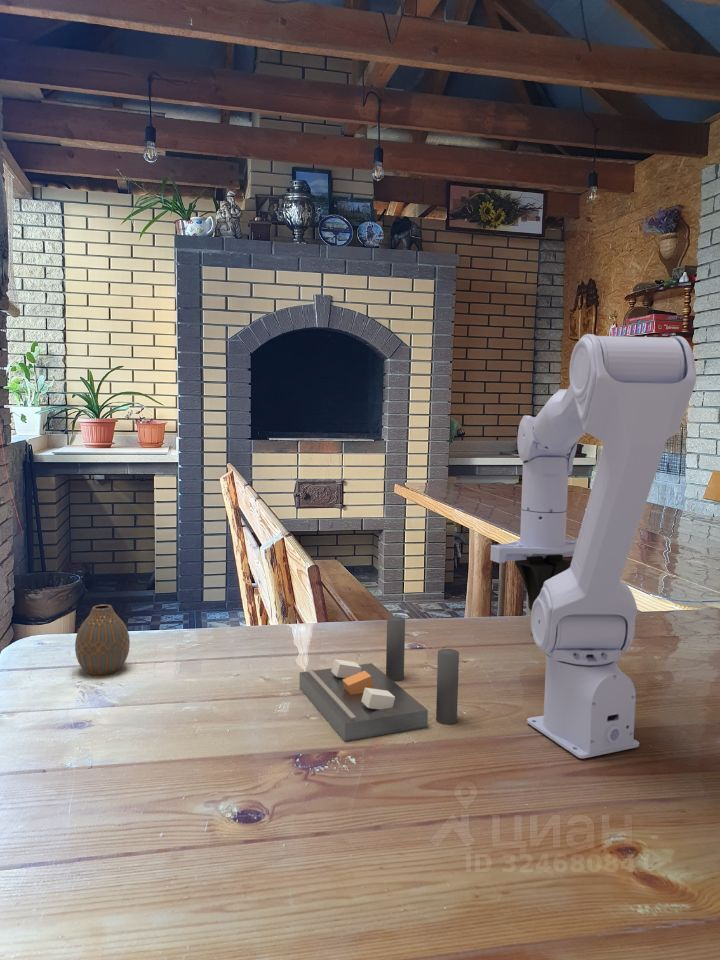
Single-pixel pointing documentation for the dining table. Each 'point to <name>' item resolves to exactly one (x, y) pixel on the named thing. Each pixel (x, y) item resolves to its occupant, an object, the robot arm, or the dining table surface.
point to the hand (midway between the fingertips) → (539, 612)
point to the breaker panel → (361, 705)
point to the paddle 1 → (345, 668)
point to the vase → (102, 642)
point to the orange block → (358, 683)
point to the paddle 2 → (377, 698)
